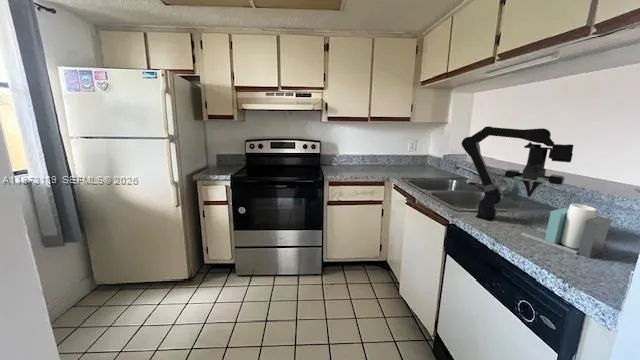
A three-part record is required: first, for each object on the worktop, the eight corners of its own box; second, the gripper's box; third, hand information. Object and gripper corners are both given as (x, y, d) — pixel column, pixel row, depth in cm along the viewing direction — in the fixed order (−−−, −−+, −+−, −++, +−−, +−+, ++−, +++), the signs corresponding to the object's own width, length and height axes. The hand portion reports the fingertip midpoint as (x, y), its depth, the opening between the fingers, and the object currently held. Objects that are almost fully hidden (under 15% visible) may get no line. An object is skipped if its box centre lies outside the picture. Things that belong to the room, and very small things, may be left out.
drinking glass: (583, 246, 97) (597, 207, 93) (581, 252, 92) (595, 212, 88) (559, 239, 101) (571, 202, 97) (555, 244, 97) (568, 205, 93)
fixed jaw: (521, 234, 106) (527, 205, 103) (537, 230, 111) (543, 202, 108) (587, 258, 88) (597, 224, 86) (603, 251, 93) (612, 218, 91)
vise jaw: (544, 241, 100) (550, 211, 97) (557, 237, 104) (564, 207, 101) (553, 245, 97) (561, 213, 94) (567, 240, 101) (574, 210, 99)
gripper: (503, 158, 110) (497, 195, 114) (563, 164, 97) (554, 205, 100) (511, 156, 117) (505, 191, 121) (568, 161, 104) (559, 200, 107)
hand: (529, 196), depth 112 cm, fingers closed
